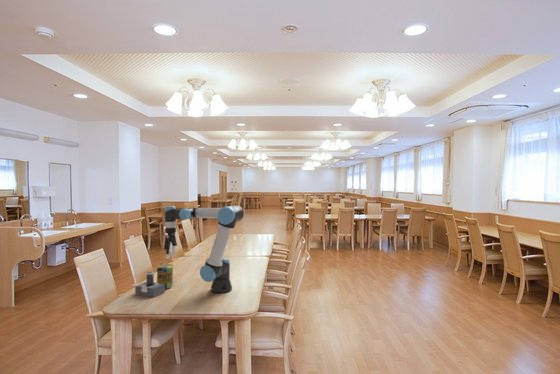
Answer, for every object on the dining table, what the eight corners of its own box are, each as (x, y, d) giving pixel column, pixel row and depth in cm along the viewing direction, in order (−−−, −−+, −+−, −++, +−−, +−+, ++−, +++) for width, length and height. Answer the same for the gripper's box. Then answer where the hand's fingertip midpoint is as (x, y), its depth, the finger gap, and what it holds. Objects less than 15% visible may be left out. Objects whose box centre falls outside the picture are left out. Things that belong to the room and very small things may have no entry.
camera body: (165, 292, 233) (165, 283, 233) (153, 297, 222) (153, 287, 222) (147, 289, 239) (147, 280, 239) (134, 294, 227) (134, 285, 227)
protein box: (156, 289, 240) (157, 268, 240) (158, 283, 255) (158, 263, 255) (171, 288, 243) (172, 267, 243) (172, 282, 258) (173, 262, 258)
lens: (152, 287, 234) (152, 270, 234) (154, 289, 230) (154, 272, 230) (145, 289, 231) (145, 272, 231) (147, 290, 227) (147, 273, 227)
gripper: (170, 225, 251) (171, 253, 251) (159, 229, 226) (160, 260, 226) (180, 225, 252) (181, 253, 251) (170, 229, 227) (170, 259, 226)
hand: (171, 256), depth 239 cm, fingers open, 13 cm apart
